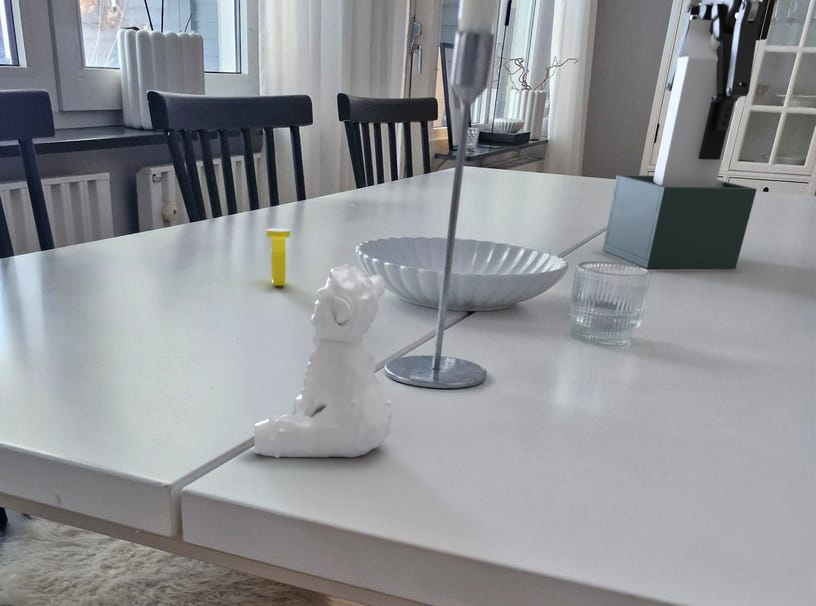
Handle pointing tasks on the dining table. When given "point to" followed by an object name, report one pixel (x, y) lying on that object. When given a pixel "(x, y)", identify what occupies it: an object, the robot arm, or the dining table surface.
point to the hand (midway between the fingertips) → (690, 155)
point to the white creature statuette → (335, 379)
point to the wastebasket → (677, 223)
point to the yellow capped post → (278, 254)
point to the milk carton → (690, 113)
